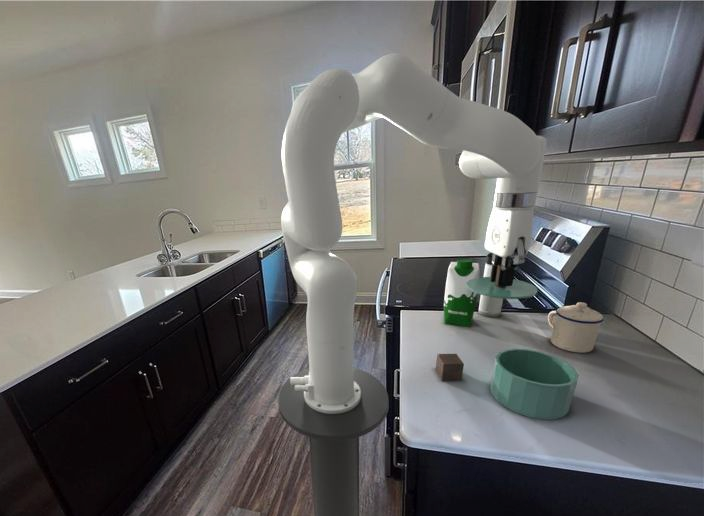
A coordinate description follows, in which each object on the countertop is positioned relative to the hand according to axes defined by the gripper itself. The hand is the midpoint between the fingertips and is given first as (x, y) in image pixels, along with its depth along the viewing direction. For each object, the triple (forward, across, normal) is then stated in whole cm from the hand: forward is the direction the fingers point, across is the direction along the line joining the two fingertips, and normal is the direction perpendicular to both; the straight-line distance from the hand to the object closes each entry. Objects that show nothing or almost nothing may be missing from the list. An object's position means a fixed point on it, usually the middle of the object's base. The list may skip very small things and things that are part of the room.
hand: (500, 282), depth 74 cm
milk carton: (+19, -20, 0) cm, 28 cm away
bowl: (+19, +17, 0) cm, 25 cm away
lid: (+1, 0, 0) cm, 1 cm away
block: (+19, +9, -13) cm, 25 cm away
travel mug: (+19, -25, +12) cm, 34 cm away
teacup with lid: (+19, -5, +22) cm, 30 cm away
